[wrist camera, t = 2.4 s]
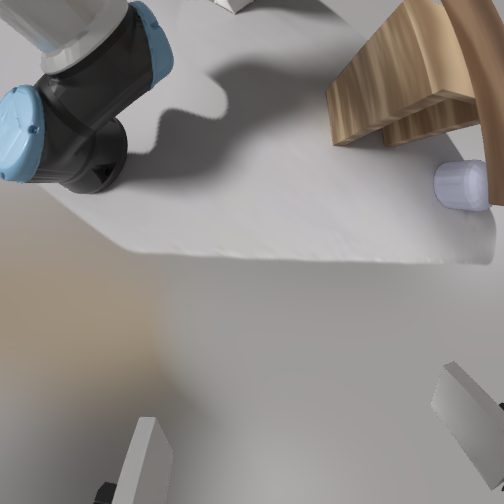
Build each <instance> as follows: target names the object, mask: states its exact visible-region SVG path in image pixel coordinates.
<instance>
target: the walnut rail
mask: <svg viewBox="0 0 504 504" xmlns="http://www.w3.org/2000/svg"><path fill="white" fill-rule="evenodd" d="M441 2H442V4H443V6H444V8H445V10H446V13H447V15H448V17H449V19H450V22H451V24H452V27H453V29H454V32H455V34H456V37H457V39H458V42H459V45H460V48H461V51H462V54H463V57H464V60H465V63H466V66H467V69H468V73H469V76H470V80H471V83H472V87H473V91H474V95H475V100H476V104H477V109H478V113H479V119H480V124H481V130H482V136H483V142H484V150H485V158H486V169H487V181H488V202H489V204H490V205H500V206H504V25H503V22H502V20H501V18H500V16H499V14H498V12H497V10H496V8H495V6H494V4H493V2H492V1H491V0H441Z"/></svg>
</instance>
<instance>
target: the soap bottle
mask: <svg viewBox="0 0 504 504" xmlns="http://www.w3.org/2000/svg"><path fill="white" fill-rule="evenodd" d="M434 190H435V194H436V196H437V198H438V200H439V201H440V202H441V204H442V205H443V206H445V207H448V208H453V209H462V210H471V211H485V210H487V209H489V208H490V207H491V206H492V205H490V204H489V202H488V181H487V169H486V163H485V162H483V161H481V160H467V161H458V162H449V163H444V164H442V165H440V166H439V168H438V169H437V170H436V173H435V176H434Z"/></svg>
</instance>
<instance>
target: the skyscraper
mask: <svg viewBox="0 0 504 504" xmlns="http://www.w3.org/2000/svg"><path fill="white" fill-rule="evenodd" d="M210 1H212V2H213V3H215V4H217V5H219V6H221V7H223V8H224V9H226V10H228V11H230V12H231V13H233V14H237V13H238V12H239V11H241V10H242V9H243V8H245V7H246V6H248V5H249V4H251V3H252V2H253V1H255V0H210Z"/></svg>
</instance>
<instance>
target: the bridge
mask: <svg viewBox="0 0 504 504" xmlns="http://www.w3.org/2000/svg"><path fill="white" fill-rule="evenodd" d="M326 97H327V103H328V110H329V117H330V125H331V133H332V141H333V146H344V145H346V144H348V143H350V142H352V141H355V140H357V139H359V138H361V137H363V136H365V135H367V134H369V133H371V132H373V131H376V130H378V129H380V128H382V130H383V137H384V145H385V147H395V146H399V145H402V144H406V143H409V142H413V141H416V140H420V139H423V138H427V137H430V136H434V135H438V134H442V133H445V132H449V131H453V130H457V129H461V128H465V127H469V126H473V125H477V124H480V119H479V113H478V109H477V104H476V100H475V95H474V91H473V87H472V83H471V80H470V76H469V73H468V69H467V66H466V63H465V60H464V57H463V54H462V51H461V48H460V45H459V42H458V39H457V37H456V34H455V32H454V29H453V27H452V24H451V22H450V19H449V17H448V15H447V13H446V10H445V8H444V6H442V5H439V4H437V3H434V2H431V1H429V0H404V1H403V2H402V3H401V4H400V5H399V6H398V8H397V9H396V10H395V11H394V12H393V13H392V14H391V15H390V17H389V18H388V19H387V20H386V21H385V22H384V23H383V24H382V25H381V27H380V28H379V29H378V30H377V31H376V32H375V33H374V35H373V36H372V37H371V38H370V39H369V40H368V41H367V43H366V44H365V45H364V46H363V47H362V48H361V50H360V51H359V52H358V53H357V54H356V56H355V57H354V58H353V59H352V60H351V61H350V63H349V64H348V65H347V66H346V67H345V69H344V70H343V71H342V72H341V73H340V75H339V76H338V77H337V78H336V79H335V81H334V82H333V83H332V84H331V86H330V87H329V88H328V89H327V90H326Z"/></svg>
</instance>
